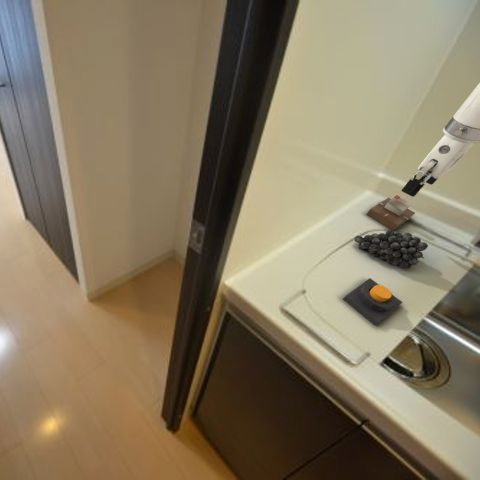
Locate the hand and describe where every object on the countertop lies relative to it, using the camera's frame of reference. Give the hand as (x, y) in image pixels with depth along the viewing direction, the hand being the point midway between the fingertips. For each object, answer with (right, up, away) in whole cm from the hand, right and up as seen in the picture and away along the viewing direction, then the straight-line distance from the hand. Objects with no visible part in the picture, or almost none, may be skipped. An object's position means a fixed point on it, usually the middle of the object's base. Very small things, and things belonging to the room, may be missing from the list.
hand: (416, 187), depth 88 cm
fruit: (-10, -18, 0) cm, 21 cm away
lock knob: (-1, -6, +7) cm, 9 cm away
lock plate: (-1, -8, +9) cm, 12 cm away
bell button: (-22, -27, -14) cm, 37 cm away
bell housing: (-22, -30, -11) cm, 38 cm away
